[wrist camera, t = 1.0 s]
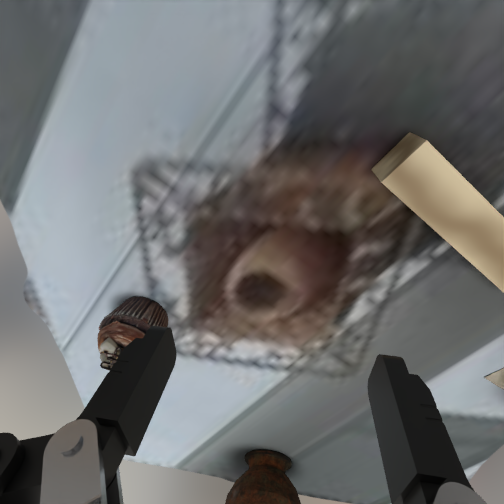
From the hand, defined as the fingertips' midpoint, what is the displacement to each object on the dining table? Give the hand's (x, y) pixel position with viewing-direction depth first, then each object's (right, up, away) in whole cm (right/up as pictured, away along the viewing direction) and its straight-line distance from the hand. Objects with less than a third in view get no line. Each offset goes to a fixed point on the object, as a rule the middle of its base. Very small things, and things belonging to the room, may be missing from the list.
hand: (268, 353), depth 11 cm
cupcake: (-18, -6, +34) cm, 39 cm away
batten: (+22, +8, +19) cm, 30 cm away
